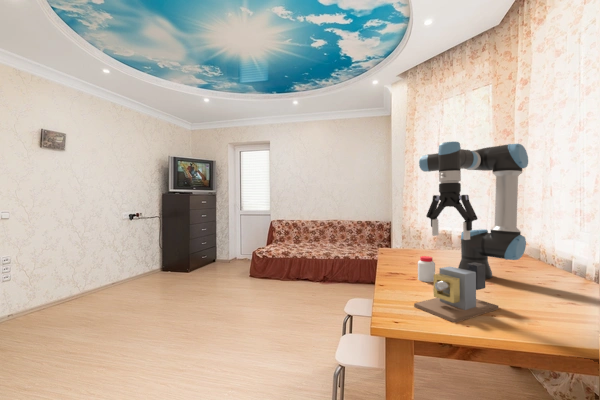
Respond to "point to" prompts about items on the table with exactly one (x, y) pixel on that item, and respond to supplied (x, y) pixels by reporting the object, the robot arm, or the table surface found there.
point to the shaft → (473, 267)
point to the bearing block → (467, 299)
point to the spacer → (454, 288)
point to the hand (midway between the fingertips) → (450, 237)
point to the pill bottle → (426, 269)
